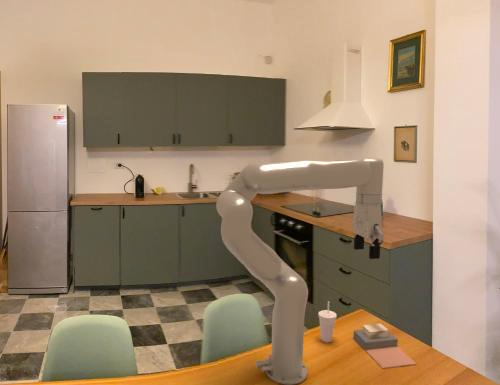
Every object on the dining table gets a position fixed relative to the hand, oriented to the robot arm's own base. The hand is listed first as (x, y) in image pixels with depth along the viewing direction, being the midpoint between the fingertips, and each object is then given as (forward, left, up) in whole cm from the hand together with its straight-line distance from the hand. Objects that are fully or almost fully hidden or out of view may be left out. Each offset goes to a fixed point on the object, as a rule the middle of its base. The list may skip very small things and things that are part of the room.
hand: (366, 253), depth 121 cm
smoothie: (-5, +15, -36) cm, 39 cm away
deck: (+11, +9, -36) cm, 39 cm away
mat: (+11, 0, -36) cm, 37 cm away
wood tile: (+11, +10, -32) cm, 35 cm away
